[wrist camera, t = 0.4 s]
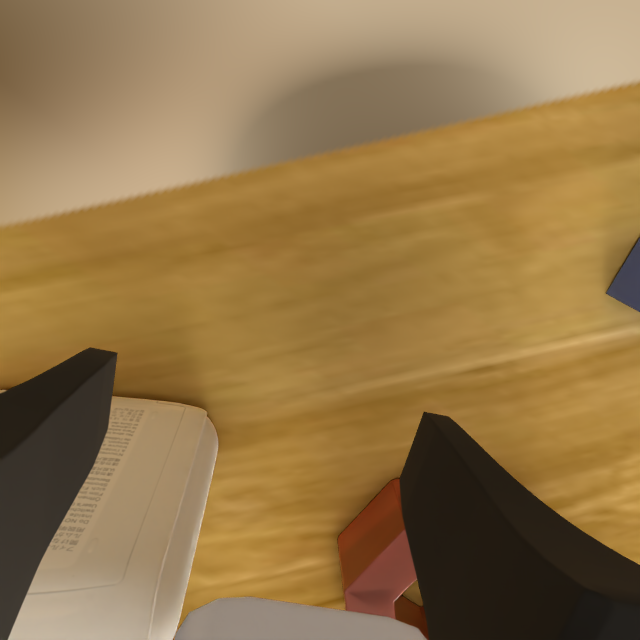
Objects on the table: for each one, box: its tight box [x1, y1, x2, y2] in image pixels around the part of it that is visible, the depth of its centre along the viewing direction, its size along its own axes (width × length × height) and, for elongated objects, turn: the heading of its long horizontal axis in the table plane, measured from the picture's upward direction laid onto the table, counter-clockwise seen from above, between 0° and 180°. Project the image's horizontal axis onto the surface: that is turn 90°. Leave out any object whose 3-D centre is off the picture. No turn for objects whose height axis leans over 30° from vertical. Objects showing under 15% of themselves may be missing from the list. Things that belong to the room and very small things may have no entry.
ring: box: [337, 479, 429, 640], centre depth 27 cm, size 9×9×3 cm
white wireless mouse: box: [0, 390, 218, 640], centre depth 20 cm, size 10×4×12 cm, turn 84°
